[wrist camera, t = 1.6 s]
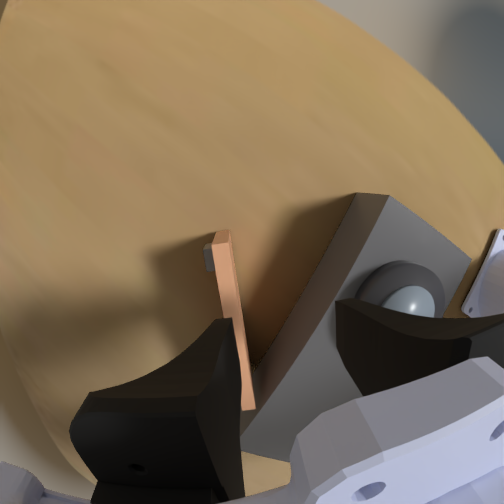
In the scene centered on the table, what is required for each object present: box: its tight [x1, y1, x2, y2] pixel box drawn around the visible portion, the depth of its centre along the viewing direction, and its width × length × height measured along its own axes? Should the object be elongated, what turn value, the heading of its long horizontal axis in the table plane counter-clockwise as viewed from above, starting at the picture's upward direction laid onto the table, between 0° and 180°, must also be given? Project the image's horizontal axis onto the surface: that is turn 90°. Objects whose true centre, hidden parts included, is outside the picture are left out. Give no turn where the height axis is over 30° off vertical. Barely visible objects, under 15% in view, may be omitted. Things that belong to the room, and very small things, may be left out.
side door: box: [203, 230, 256, 411], centre depth 17 cm, size 1×10×4 cm, turn 7°
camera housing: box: [240, 192, 472, 462], centre depth 18 cm, size 8×18×6 cm, turn 152°
